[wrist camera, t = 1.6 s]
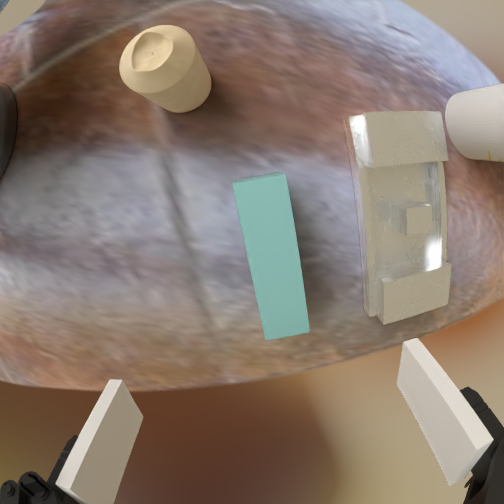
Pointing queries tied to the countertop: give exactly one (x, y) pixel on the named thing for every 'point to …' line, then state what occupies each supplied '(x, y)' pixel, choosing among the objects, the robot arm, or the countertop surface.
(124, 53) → the candle
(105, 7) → the countertop surface
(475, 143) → the cup
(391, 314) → the white block holder tray
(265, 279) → the teal notched block
